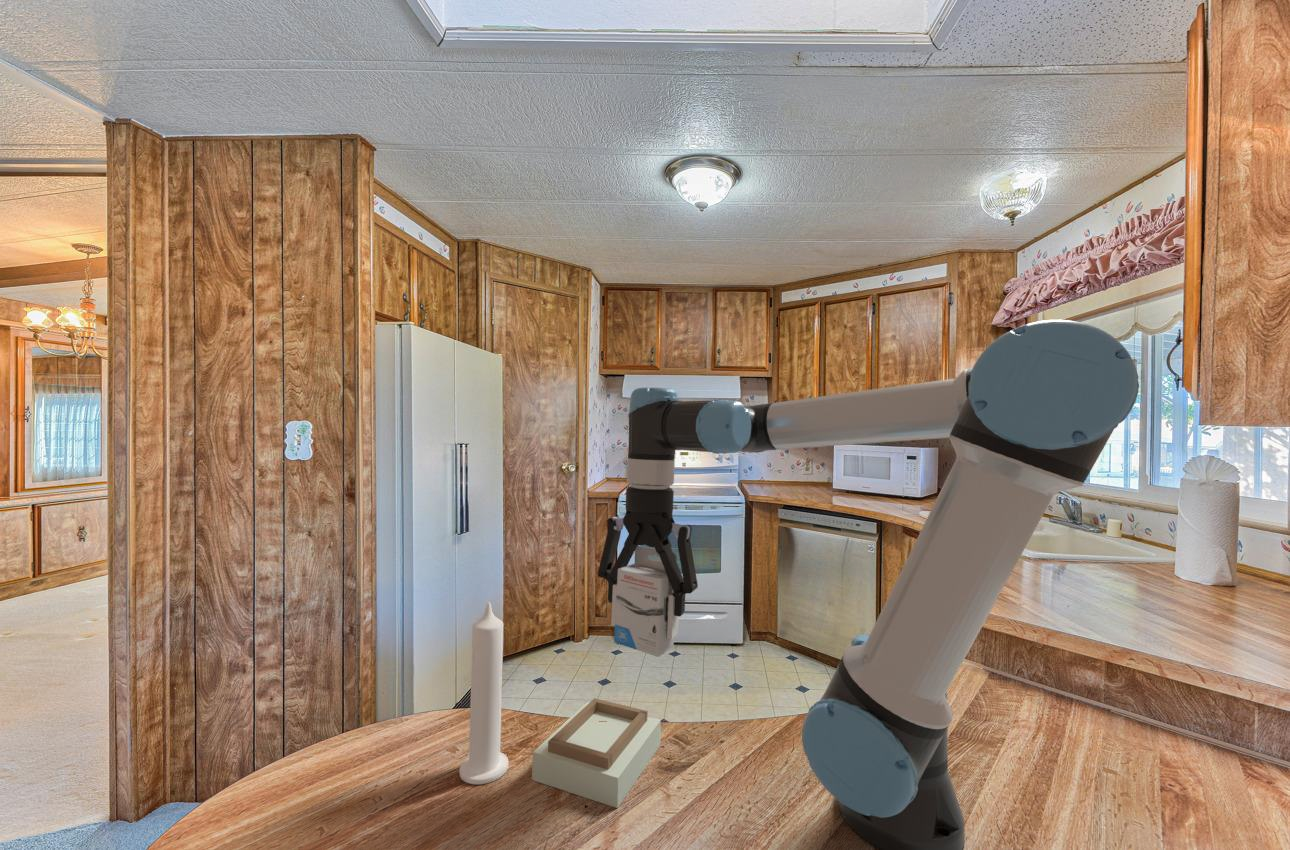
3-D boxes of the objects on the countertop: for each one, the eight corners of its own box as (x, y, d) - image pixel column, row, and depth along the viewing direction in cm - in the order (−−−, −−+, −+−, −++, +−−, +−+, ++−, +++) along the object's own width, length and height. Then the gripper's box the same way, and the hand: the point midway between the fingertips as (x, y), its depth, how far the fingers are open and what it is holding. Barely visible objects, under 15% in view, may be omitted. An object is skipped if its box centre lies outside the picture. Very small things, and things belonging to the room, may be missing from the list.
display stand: (660, 744, 83) (660, 710, 83) (617, 808, 68) (618, 766, 69) (586, 725, 89) (587, 693, 89) (532, 779, 74) (532, 741, 74)
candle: (494, 788, 72) (498, 611, 73) (449, 781, 73) (454, 607, 74) (516, 758, 79) (520, 597, 80) (475, 752, 80) (479, 593, 81)
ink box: (612, 643, 80) (616, 549, 80) (630, 633, 84) (634, 544, 84) (658, 658, 75) (662, 558, 75) (675, 647, 79) (678, 552, 79)
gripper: (723, 489, 78) (717, 635, 78) (602, 479, 88) (596, 609, 87) (708, 494, 72) (702, 653, 71) (579, 482, 81) (572, 623, 80)
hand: (644, 629), depth 79 cm, fingers closed on ink box, 9 cm apart
